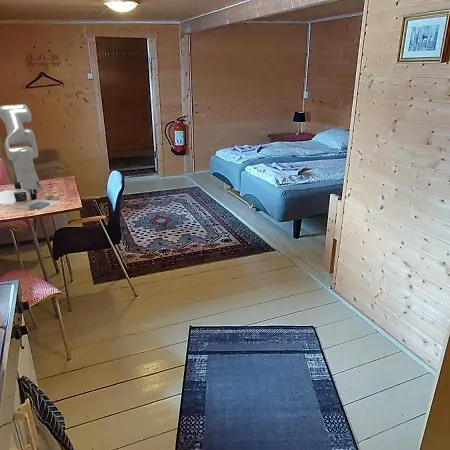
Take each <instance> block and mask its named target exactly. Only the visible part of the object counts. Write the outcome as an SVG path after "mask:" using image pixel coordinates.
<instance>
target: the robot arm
mask: <svg viewBox="0 0 450 450" xmlns="http://www.w3.org/2000/svg"><path fill="white" fill-rule="evenodd" d="M0 119H1V120H2V121H3V124H4V126H5V130H6V134H7V136H6V138H5V140H4V149H5V152H6V156H7V158H8V160H9V161H12V165H13V168H14V172H15V176H16V180H17V182H16V183H18V182H21V185H22V188H23V189H24V190H27V191H28V192H29V195H30V200H31V201H33V200H38V196H37V192H38V191H41V189H40V187H41V184H40V180H39V176H38V174H37V172H36V169H35V164H34V160H33V159H37V158H39V151H38V150H39V149H38V145H37V141H36V137H35V133H34V131H33V130H32V129H31V128H24V123H30V122H31V121H32V112H31V111H30V109H29V107H28V106H27V104H24V103H19V104H18V103H17V104H5V105H0ZM11 145H15V146H12V147H11Z"/></svg>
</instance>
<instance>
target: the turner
mask: <svg viewBox="0 0 450 450" xmlns="http://www.w3.org/2000/svg"><path fill="white" fill-rule="evenodd" d="M43 197H44V200H49V201H60V200H61V196H60V194H52V193H46V194H43Z"/></svg>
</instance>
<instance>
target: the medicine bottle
mask: <svg viewBox="0 0 450 450" xmlns="http://www.w3.org/2000/svg"><path fill="white" fill-rule="evenodd" d="M13 185H14V189H15V190H14V191H13V195H14V199H15V203H22V202H28V201H29V200H31V196H30V194H29V192H28V191H27V190H24V189H23V188H22V185H21V182H16V183H14V184H13Z"/></svg>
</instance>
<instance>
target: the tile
mask: <svg viewBox="0 0 450 450" xmlns="http://www.w3.org/2000/svg"><path fill="white" fill-rule="evenodd" d="M48 205H49V203H48V202H37V203H35V204H32V205H30V206H29V208H33V209H32V210H42V208H44V207H46V206H48ZM29 208H28V209H29Z"/></svg>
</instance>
